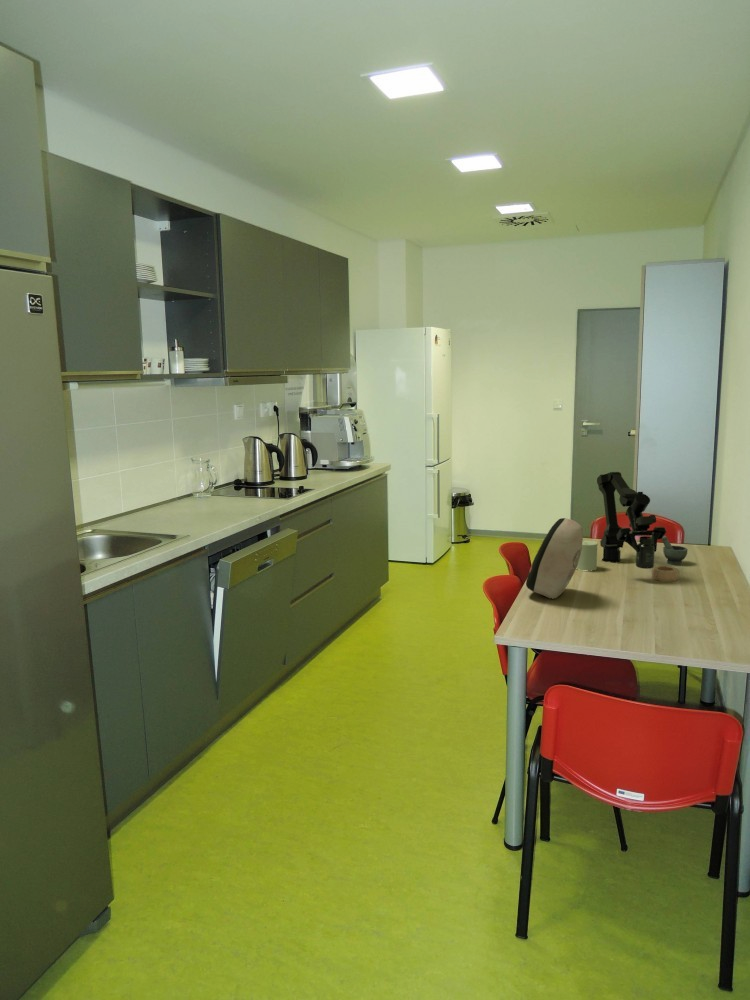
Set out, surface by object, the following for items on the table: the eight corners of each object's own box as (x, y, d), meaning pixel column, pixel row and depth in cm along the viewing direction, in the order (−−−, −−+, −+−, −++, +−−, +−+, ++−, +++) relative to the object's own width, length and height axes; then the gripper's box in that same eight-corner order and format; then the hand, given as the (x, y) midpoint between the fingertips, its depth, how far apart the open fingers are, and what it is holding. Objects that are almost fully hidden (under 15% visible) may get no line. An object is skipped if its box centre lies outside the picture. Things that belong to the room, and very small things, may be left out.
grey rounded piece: (535, 584, 288) (537, 510, 283) (586, 590, 279) (588, 514, 275) (521, 599, 269) (522, 520, 264) (575, 606, 260) (577, 524, 255)
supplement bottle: (632, 564, 293) (634, 536, 291) (649, 564, 294) (650, 535, 292) (640, 569, 287) (641, 539, 285) (656, 568, 287) (658, 539, 285)
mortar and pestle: (687, 562, 319) (689, 535, 317) (685, 566, 311) (687, 539, 309) (660, 559, 324) (661, 533, 322) (657, 564, 316) (659, 537, 314)
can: (573, 570, 308) (574, 543, 306) (576, 565, 317) (576, 538, 315) (595, 572, 305) (596, 544, 303) (597, 566, 313) (598, 540, 311)
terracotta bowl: (648, 579, 293) (649, 569, 293) (655, 573, 301) (656, 564, 300) (673, 582, 287) (674, 573, 287) (680, 577, 295) (681, 567, 294)
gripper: (620, 508, 289) (631, 541, 281) (665, 507, 291) (677, 540, 282) (612, 523, 299) (621, 556, 290) (655, 522, 300) (666, 554, 291)
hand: (646, 551), depth 288 cm, fingers closed on supplement bottle, 7 cm apart
